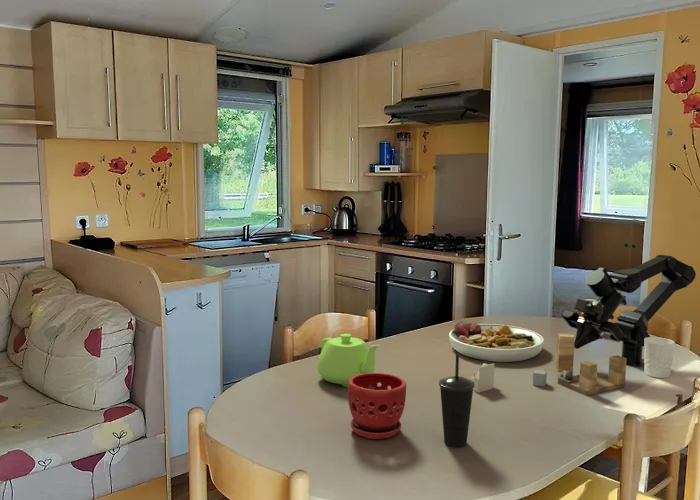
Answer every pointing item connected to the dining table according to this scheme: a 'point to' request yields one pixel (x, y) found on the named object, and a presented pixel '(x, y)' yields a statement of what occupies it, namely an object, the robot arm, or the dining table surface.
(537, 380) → the block
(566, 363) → the folding leg
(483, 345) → the bowl
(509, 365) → the dining table surface
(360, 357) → the teapot
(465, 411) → the drinking cup
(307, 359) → the dining table surface
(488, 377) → the architectural model
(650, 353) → the white cup
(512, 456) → the dining table surface
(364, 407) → the plant pot
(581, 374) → the stool seat
